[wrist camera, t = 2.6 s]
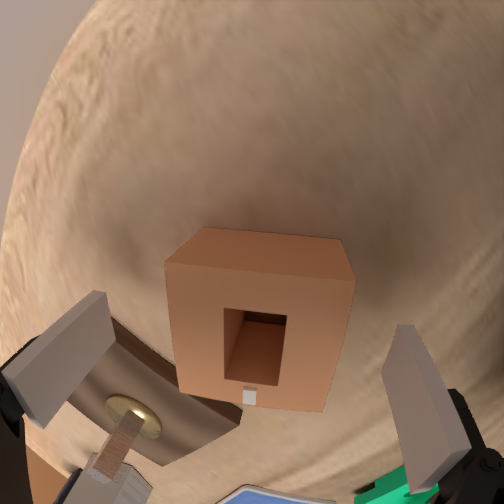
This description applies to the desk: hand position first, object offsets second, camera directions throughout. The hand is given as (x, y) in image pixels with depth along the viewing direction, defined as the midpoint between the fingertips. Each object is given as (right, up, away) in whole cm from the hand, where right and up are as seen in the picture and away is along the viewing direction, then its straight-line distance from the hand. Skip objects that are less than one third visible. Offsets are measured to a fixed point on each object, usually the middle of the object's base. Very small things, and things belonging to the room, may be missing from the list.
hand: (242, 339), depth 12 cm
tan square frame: (+1, +1, +4) cm, 4 cm away
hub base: (-9, -10, +10) cm, 16 cm away
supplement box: (-18, -28, +18) cm, 37 cm away
